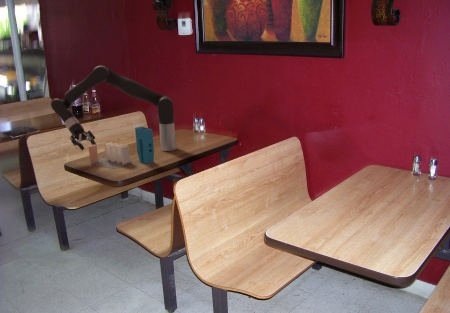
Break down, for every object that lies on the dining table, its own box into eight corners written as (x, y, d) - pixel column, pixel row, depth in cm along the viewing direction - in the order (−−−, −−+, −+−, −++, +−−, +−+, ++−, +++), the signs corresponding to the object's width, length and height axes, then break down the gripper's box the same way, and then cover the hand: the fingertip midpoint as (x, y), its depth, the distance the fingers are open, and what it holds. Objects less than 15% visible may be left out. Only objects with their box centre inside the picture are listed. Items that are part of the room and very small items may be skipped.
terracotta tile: (90, 163, 268) (88, 146, 265) (97, 160, 272) (95, 144, 269) (91, 163, 268) (89, 146, 265) (98, 161, 272) (96, 144, 269)
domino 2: (111, 161, 270) (109, 145, 267) (117, 159, 274) (116, 143, 271) (112, 162, 269) (111, 145, 266) (119, 159, 273) (117, 143, 270)
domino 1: (106, 160, 272) (104, 144, 269) (112, 158, 276) (110, 142, 273) (107, 160, 271) (105, 144, 269) (113, 158, 275) (112, 142, 272)
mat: (86, 163, 269) (86, 162, 269) (106, 156, 281) (106, 156, 281) (114, 169, 257) (114, 168, 257) (133, 162, 269) (133, 161, 268)
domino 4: (122, 164, 265) (120, 147, 262) (128, 161, 269) (127, 145, 266) (123, 164, 264) (122, 147, 261) (130, 162, 268) (128, 145, 265)
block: (155, 163, 265) (152, 129, 259) (148, 165, 262) (145, 131, 256) (144, 159, 274) (142, 126, 268) (137, 160, 271) (134, 127, 265)
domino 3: (116, 162, 267) (115, 146, 264) (123, 160, 271) (121, 144, 268) (118, 163, 267) (116, 146, 264) (124, 160, 270) (122, 144, 268)
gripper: (66, 125, 264) (82, 146, 261) (86, 120, 276) (101, 141, 273) (61, 133, 269) (77, 154, 266) (81, 127, 280) (96, 148, 277)
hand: (89, 147), depth 269 cm, fingers open, 8 cm apart
